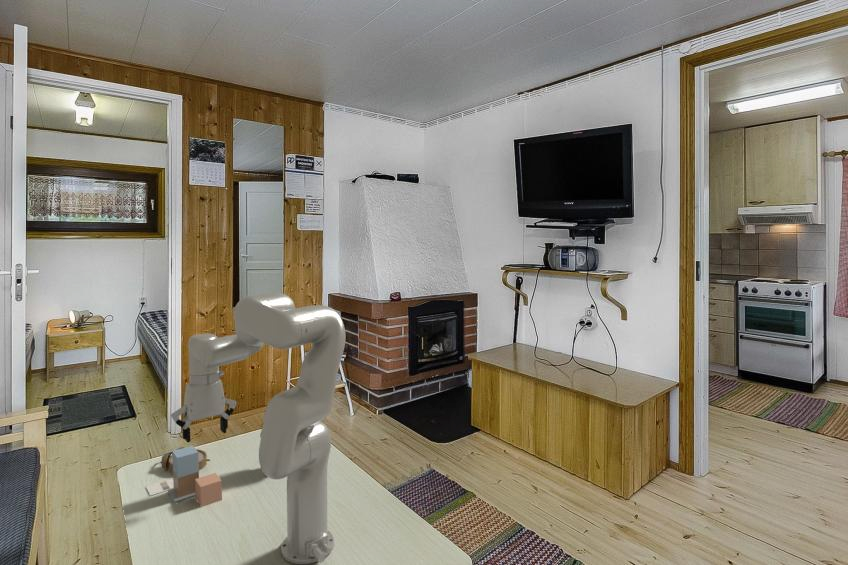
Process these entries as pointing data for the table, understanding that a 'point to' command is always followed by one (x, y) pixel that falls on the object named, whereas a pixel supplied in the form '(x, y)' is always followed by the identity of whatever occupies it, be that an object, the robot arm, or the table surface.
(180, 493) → the base
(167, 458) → the alarm clock
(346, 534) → the table surface
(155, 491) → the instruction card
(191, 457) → the blue block
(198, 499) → the terracotta block
